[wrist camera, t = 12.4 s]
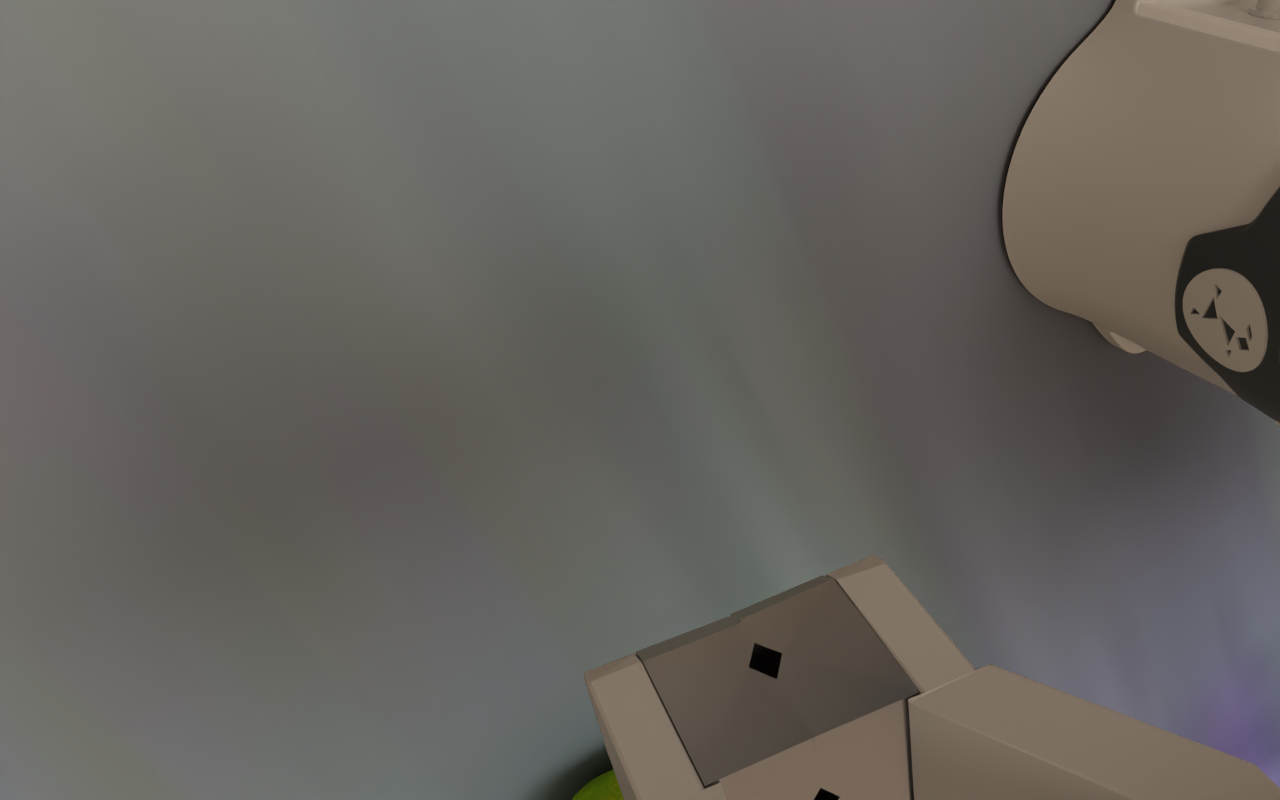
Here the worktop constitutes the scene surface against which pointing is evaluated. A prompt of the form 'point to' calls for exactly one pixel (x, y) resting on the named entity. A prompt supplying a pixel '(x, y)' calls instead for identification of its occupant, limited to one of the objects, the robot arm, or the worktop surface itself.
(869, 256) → the worktop surface
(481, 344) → the worktop surface
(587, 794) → the green fruit
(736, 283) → the worktop surface
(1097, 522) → the worktop surface
